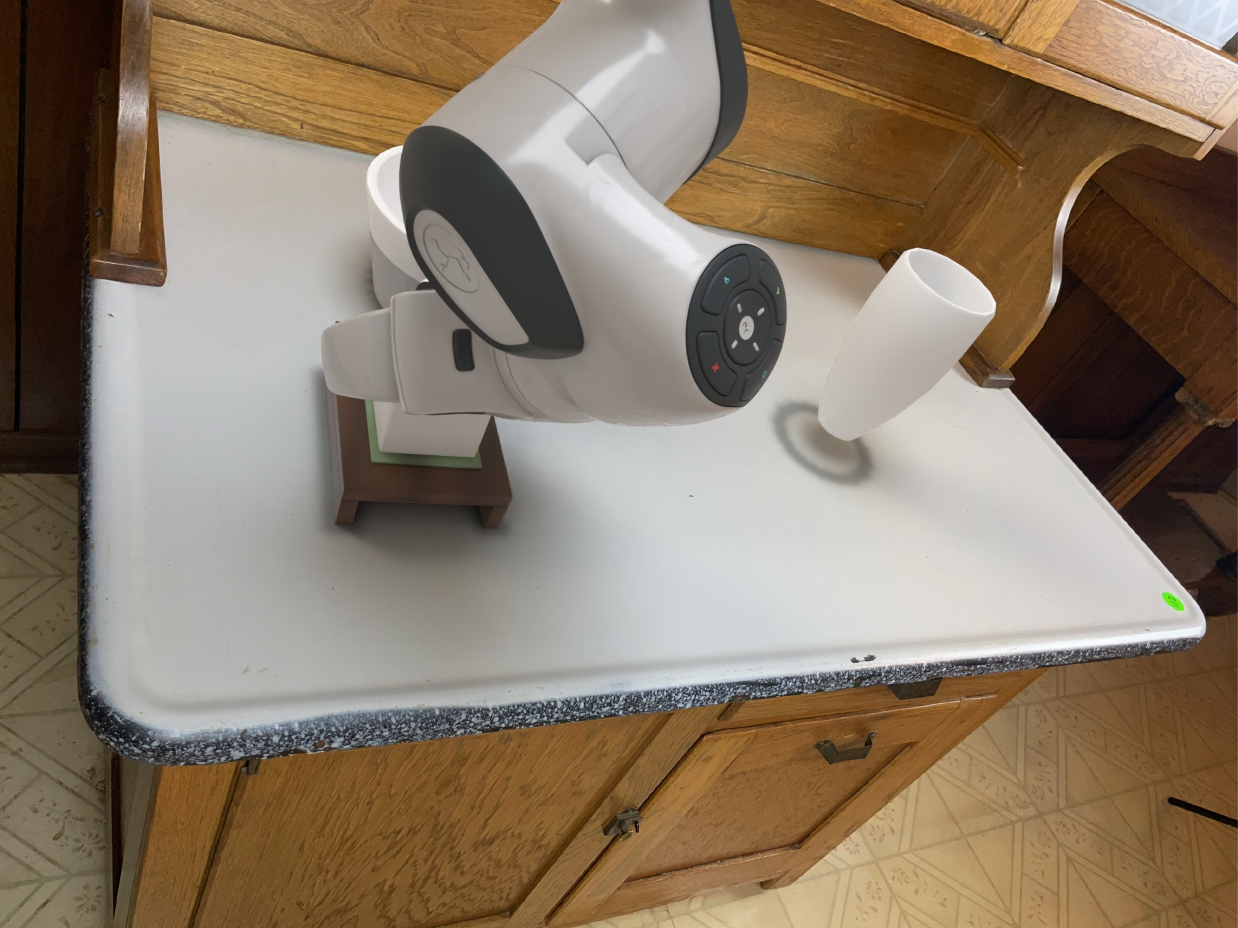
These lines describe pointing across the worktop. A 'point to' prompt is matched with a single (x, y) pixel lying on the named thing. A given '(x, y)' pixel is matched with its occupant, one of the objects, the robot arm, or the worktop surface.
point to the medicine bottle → (428, 428)
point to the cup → (903, 342)
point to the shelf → (408, 468)
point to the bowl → (389, 230)
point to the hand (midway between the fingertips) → (440, 354)
